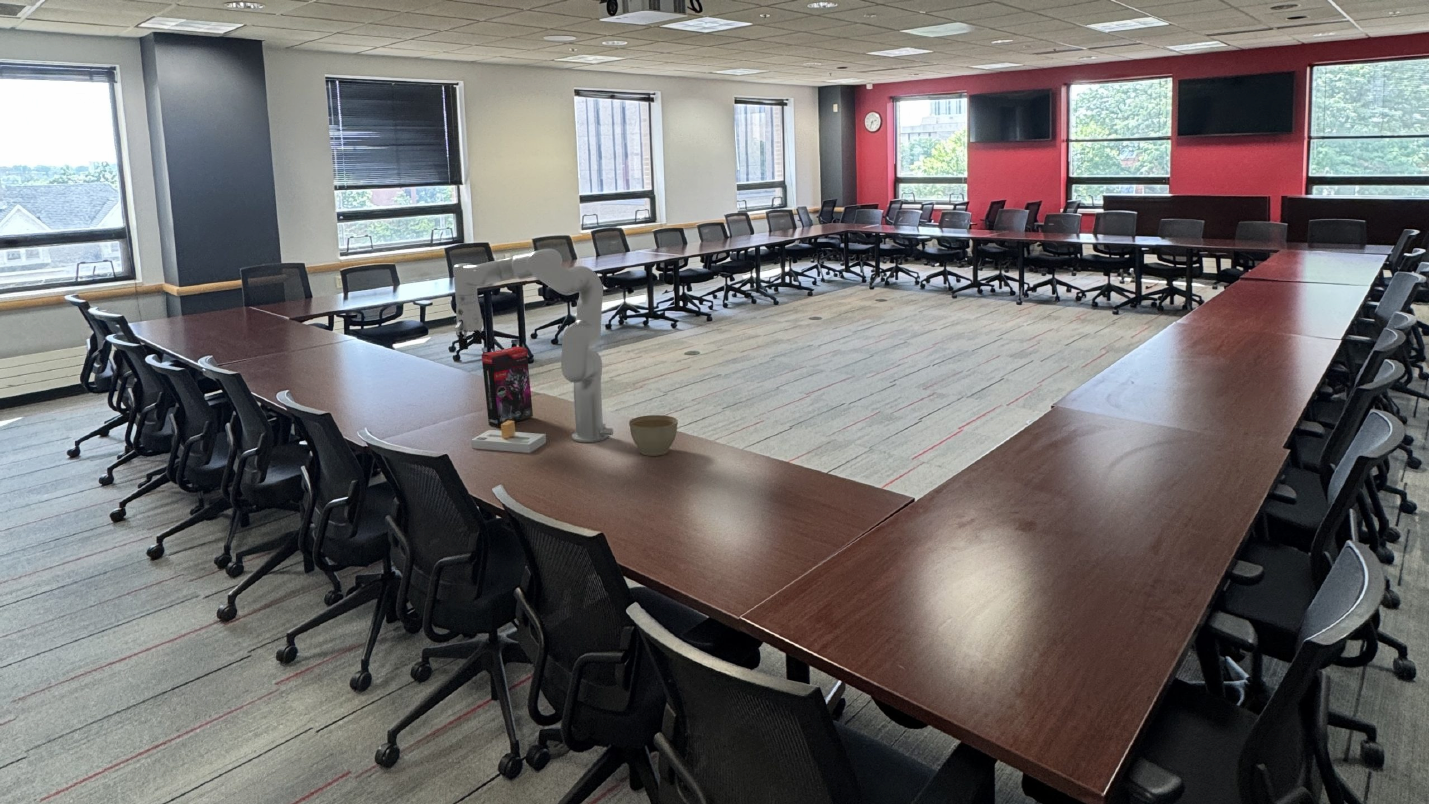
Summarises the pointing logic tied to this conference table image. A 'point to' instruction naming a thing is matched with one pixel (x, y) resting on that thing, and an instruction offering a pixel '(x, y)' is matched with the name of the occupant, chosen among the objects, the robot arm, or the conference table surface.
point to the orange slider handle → (508, 429)
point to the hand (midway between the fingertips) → (470, 346)
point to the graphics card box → (507, 385)
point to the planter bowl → (653, 433)
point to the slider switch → (509, 441)
